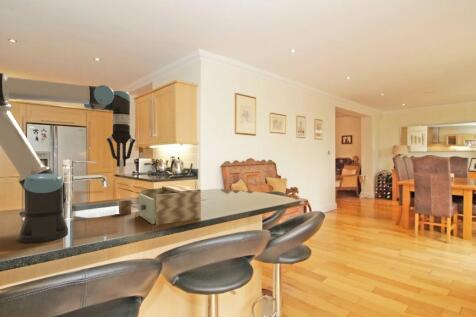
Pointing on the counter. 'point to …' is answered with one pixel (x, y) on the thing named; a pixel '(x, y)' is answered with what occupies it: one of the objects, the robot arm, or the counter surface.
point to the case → (175, 203)
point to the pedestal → (125, 206)
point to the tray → (147, 208)
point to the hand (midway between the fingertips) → (121, 173)
